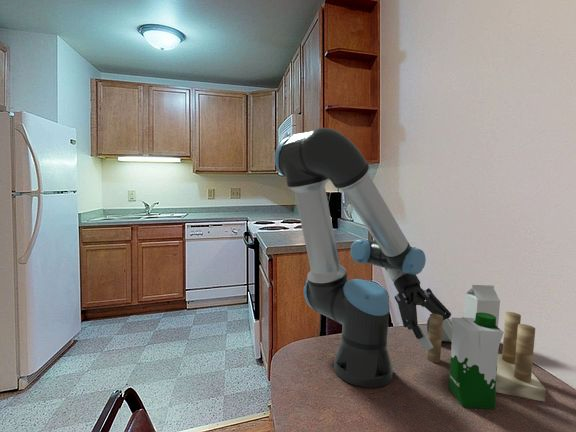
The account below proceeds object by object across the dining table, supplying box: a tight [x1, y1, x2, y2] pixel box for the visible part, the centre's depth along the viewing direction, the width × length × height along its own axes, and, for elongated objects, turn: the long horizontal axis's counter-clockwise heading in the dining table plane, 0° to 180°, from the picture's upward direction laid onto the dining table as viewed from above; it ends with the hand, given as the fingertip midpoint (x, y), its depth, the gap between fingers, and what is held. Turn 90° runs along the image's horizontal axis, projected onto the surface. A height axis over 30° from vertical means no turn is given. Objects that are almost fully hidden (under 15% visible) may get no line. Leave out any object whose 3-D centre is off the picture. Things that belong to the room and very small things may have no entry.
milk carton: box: [463, 284, 501, 328], centre depth 104 cm, size 7×7×19 cm
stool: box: [496, 311, 547, 402], centre depth 83 cm, size 16×16×16 cm
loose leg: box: [426, 313, 443, 364], centre depth 91 cm, size 3×3×13 cm
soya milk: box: [448, 313, 504, 410], centre depth 74 cm, size 9×9×20 cm
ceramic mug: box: [426, 316, 452, 343], centre depth 106 cm, size 11×8×8 cm
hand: (443, 345), depth 89 cm, fingers open, 11 cm apart
